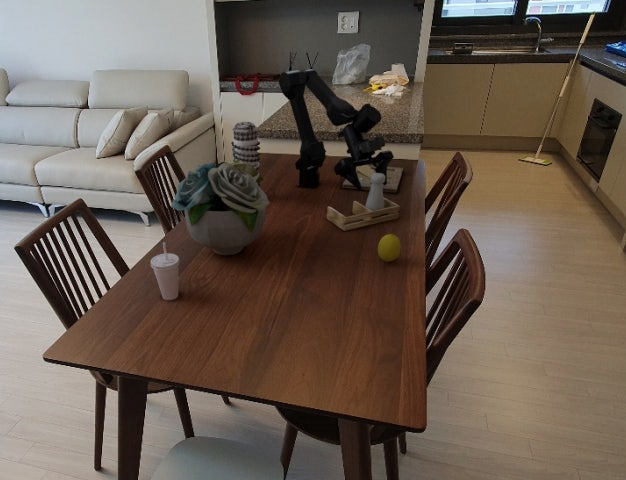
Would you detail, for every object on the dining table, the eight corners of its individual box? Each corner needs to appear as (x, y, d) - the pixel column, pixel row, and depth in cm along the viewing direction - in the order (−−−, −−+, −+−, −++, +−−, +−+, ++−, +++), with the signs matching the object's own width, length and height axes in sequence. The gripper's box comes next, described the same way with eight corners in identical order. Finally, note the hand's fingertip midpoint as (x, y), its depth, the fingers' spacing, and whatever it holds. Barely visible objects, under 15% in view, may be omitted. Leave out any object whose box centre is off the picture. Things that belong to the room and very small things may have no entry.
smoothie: (171, 306, 104) (163, 251, 96) (150, 298, 107) (140, 245, 99) (189, 292, 108) (182, 239, 101) (169, 285, 111) (161, 233, 104)
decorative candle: (256, 205, 152) (254, 127, 138) (230, 202, 155) (225, 126, 141) (265, 195, 159) (263, 120, 146) (240, 192, 162) (236, 119, 148)
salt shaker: (382, 211, 145) (387, 171, 138) (384, 218, 141) (389, 177, 134) (363, 210, 146) (367, 171, 139) (365, 218, 141) (369, 177, 134)
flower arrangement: (254, 278, 113) (250, 182, 100) (165, 262, 121) (151, 172, 108) (284, 235, 133) (285, 151, 119) (206, 224, 140) (199, 144, 127)
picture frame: (354, 167, 182) (342, 188, 163) (354, 163, 181) (342, 183, 162) (402, 171, 176) (396, 193, 158) (403, 167, 175) (396, 188, 157)
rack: (326, 218, 142) (327, 206, 139) (378, 207, 148) (380, 195, 146) (344, 231, 134) (345, 218, 132) (398, 218, 141) (400, 205, 138)
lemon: (399, 258, 120) (403, 230, 115) (397, 268, 115) (401, 240, 111) (377, 255, 121) (381, 228, 117) (374, 265, 117) (378, 237, 112)
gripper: (341, 131, 132) (360, 180, 129) (394, 123, 138) (413, 169, 136) (326, 151, 142) (342, 197, 140) (375, 143, 148) (392, 186, 146)
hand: (373, 187), depth 140 cm, fingers open, 9 cm apart
